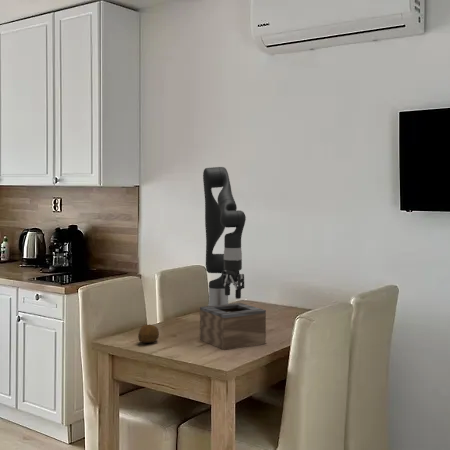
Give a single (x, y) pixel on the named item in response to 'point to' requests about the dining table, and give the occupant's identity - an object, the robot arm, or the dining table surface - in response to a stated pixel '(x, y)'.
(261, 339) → the slot box
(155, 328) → the potato
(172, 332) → the dining table surface
